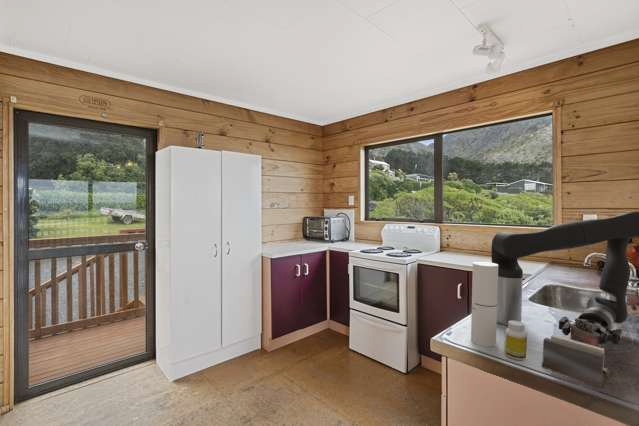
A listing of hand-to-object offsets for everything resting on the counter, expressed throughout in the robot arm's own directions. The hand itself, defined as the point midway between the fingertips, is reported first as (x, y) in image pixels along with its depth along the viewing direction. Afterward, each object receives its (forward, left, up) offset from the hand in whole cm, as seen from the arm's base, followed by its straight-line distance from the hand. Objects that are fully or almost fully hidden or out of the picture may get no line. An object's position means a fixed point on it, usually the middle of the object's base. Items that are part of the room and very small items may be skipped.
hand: (582, 336), depth 90 cm
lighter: (0, +2, -6) cm, 7 cm away
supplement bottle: (-13, -11, -7) cm, 19 cm away
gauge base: (0, -7, -7) cm, 10 cm away
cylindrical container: (-23, -9, -7) cm, 26 cm away
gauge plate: (0, -7, -6) cm, 9 cm away
